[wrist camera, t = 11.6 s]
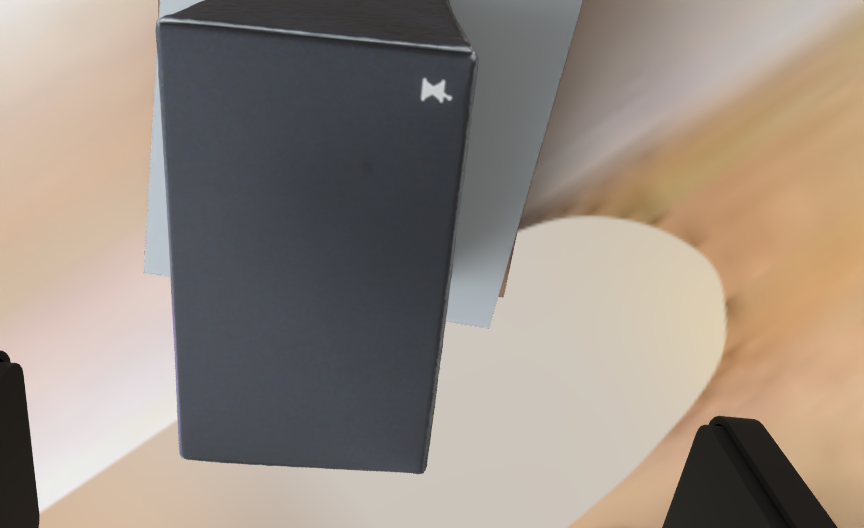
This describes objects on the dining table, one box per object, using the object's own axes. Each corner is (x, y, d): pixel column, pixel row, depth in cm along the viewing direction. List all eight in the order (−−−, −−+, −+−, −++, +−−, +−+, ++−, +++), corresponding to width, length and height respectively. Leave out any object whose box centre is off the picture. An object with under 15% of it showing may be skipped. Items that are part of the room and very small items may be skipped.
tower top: (558, -31, 27) (589, -23, 23) (476, 277, 32) (489, 328, 28) (202, -116, 25) (167, -123, 21) (175, 226, 31) (143, 273, 27)
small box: (241, -33, 22) (133, 2, 13) (452, -11, 23) (496, 37, 14) (244, 277, 27) (165, 470, 17) (420, 288, 27) (437, 482, 18)
